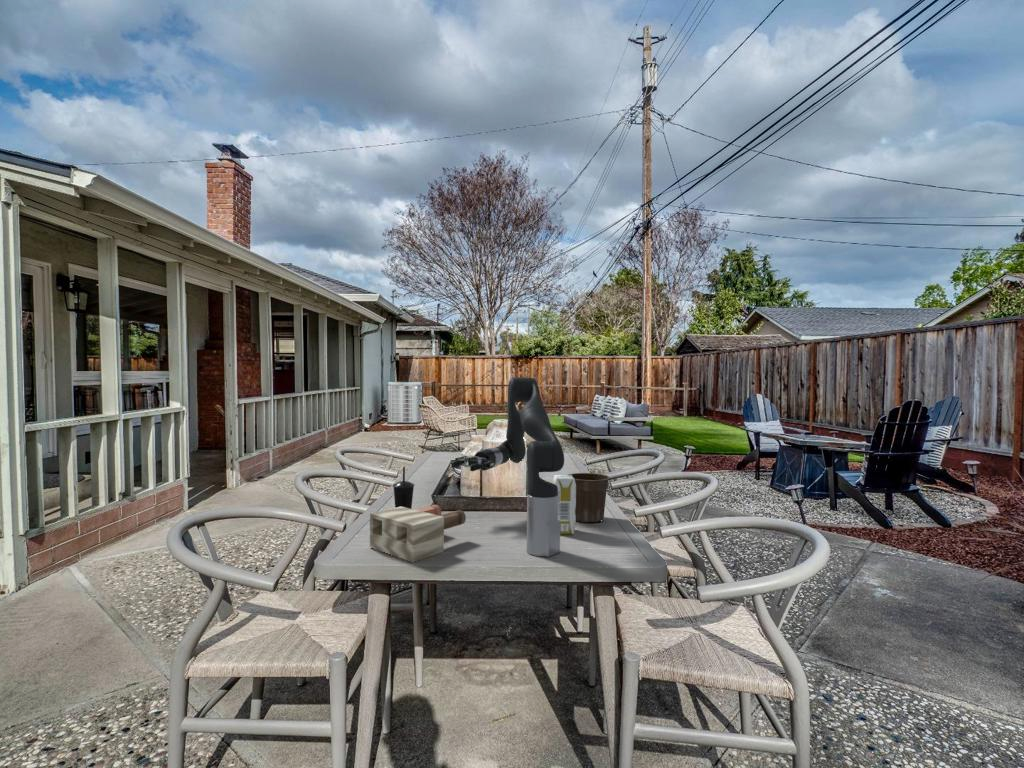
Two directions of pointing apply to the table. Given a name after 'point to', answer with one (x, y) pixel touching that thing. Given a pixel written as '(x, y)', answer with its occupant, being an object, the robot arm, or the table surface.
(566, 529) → the juice carton
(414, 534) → the socket block
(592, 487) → the plant pot
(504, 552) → the table surface
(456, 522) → the walnut plug
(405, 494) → the drinking cup
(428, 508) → the terracotta plug
